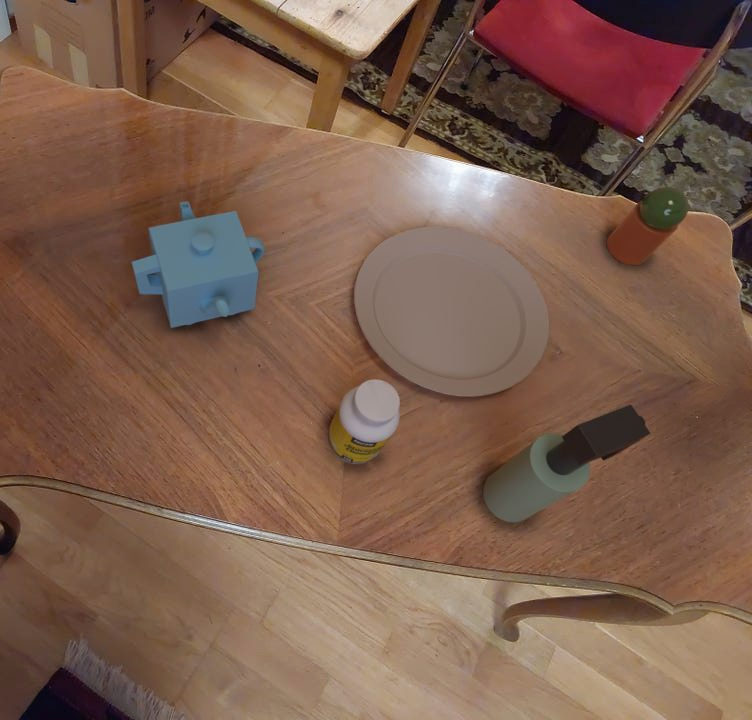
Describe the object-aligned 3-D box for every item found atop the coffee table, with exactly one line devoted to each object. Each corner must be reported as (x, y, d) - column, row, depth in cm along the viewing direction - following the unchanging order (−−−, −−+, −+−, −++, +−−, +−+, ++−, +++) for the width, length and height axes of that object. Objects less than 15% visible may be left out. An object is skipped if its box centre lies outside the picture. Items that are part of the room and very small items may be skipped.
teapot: (241, 232, 89) (245, 173, 79) (282, 344, 82) (293, 294, 72) (126, 255, 86) (115, 197, 76) (158, 374, 78) (150, 327, 68)
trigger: (597, 434, 67) (625, 415, 63) (612, 457, 66) (641, 440, 62) (588, 438, 67) (615, 419, 63) (602, 461, 66) (631, 444, 62)
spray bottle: (534, 457, 78) (630, 386, 60) (561, 504, 75) (670, 444, 57) (473, 481, 76) (554, 415, 58) (499, 530, 73) (592, 477, 55)
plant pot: (643, 234, 95) (694, 179, 85) (651, 267, 92) (705, 215, 82) (603, 229, 95) (649, 174, 85) (610, 262, 92) (658, 210, 82)
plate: (382, 417, 78) (386, 411, 76) (330, 246, 89) (332, 237, 88) (573, 385, 83) (581, 378, 81) (501, 225, 94) (506, 216, 92)
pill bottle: (323, 460, 75) (342, 422, 65) (330, 409, 78) (349, 365, 68) (379, 470, 75) (406, 435, 65) (383, 419, 78) (410, 377, 68)
